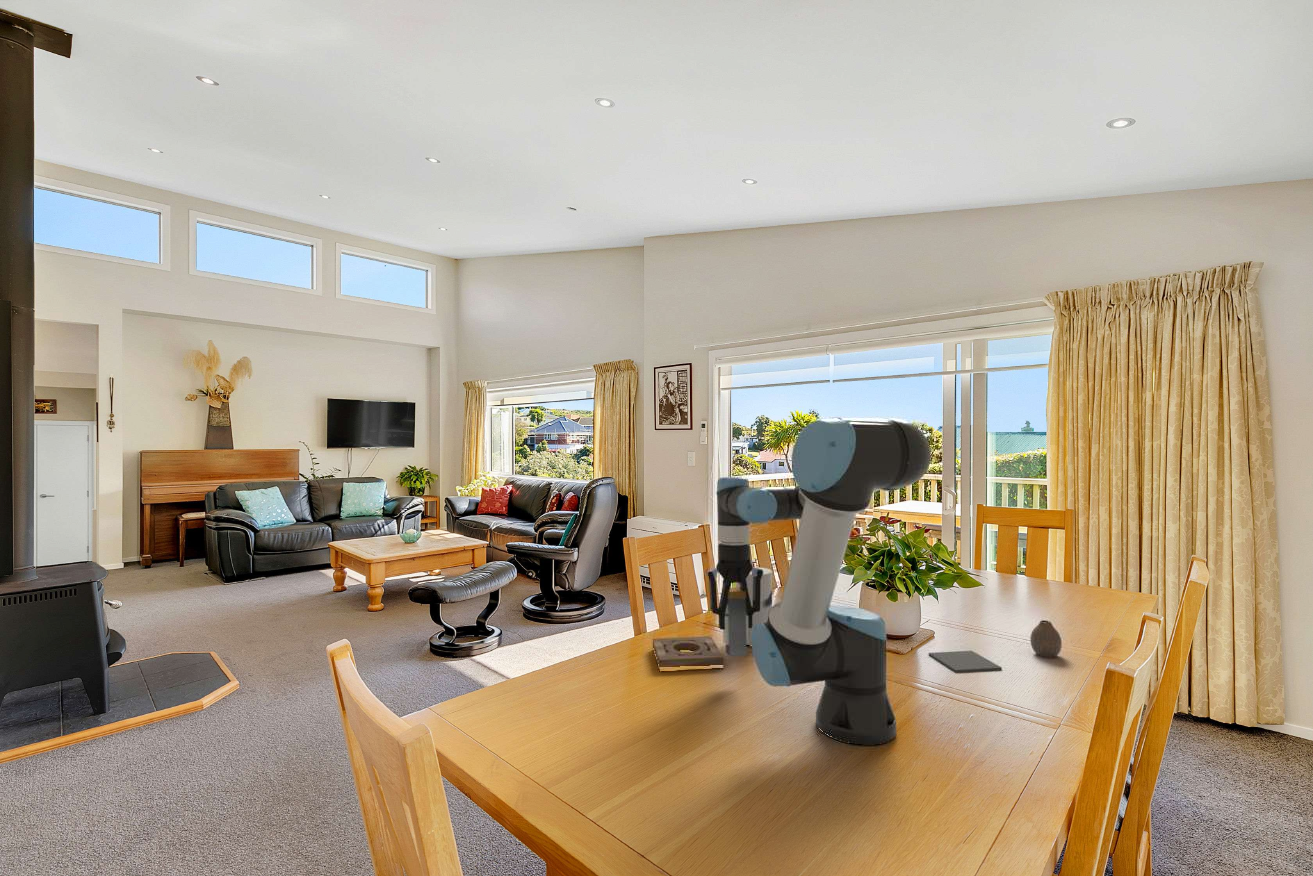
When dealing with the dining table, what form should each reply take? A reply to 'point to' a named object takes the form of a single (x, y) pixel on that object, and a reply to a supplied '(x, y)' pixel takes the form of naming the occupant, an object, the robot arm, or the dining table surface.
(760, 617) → the container
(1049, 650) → the vase
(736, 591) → the key peg
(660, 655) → the block
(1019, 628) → the dining table surface
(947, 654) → the pad
